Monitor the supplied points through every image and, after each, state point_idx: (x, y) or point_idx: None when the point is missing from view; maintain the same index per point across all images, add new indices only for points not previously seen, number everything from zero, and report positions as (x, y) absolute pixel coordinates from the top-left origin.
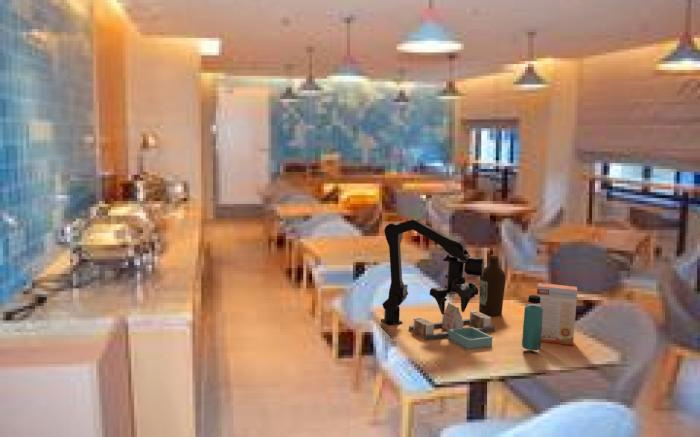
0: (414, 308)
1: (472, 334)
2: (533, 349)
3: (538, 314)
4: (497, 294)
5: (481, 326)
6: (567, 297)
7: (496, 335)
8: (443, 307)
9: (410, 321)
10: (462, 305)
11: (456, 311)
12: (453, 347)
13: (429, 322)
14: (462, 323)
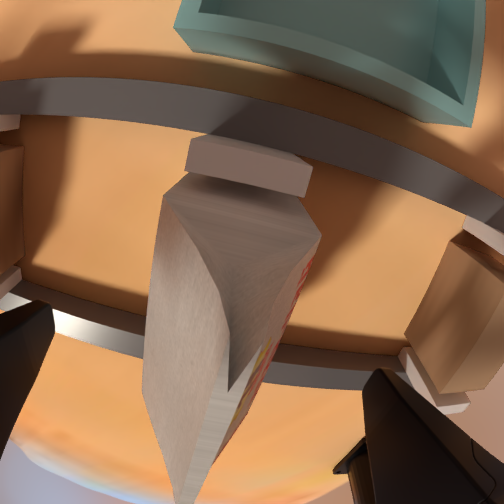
0: (161, 489)
1: (214, 13)
2: None
3: None
4: None
5: (2, 150)
6: None
7: (33, 6)
8: (456, 435)
9: (306, 445)
10: (7, 388)
11: (279, 294)
12: (491, 22)
13: (500, 314)
14: (209, 139)
